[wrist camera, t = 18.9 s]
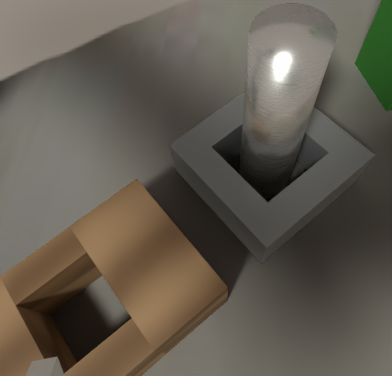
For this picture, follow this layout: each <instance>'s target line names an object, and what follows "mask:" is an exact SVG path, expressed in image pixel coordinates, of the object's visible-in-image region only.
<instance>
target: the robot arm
mask: <svg viewBox="0 0 392 376" xmlns="http://www.w3.org/2000/svg"><path fill="white" fill-rule="evenodd" d="M26 376H64V373H63V370H62V368H61V365H60V362H59V359H58V357H52V358H47V359H42V360H37V361H32V363H31V365H30V367H29V369H28V371H27V374H26Z"/></svg>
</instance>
